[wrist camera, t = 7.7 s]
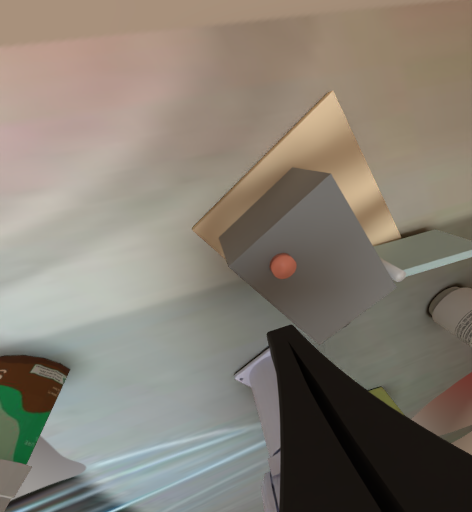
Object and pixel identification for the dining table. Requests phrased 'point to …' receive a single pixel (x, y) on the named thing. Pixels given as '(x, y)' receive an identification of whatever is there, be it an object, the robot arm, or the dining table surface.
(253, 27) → the dining table surface
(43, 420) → the food container
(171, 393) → the dining table surface
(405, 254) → the grey-green rectangular block
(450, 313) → the energy drink can
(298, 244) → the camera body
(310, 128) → the beech board
